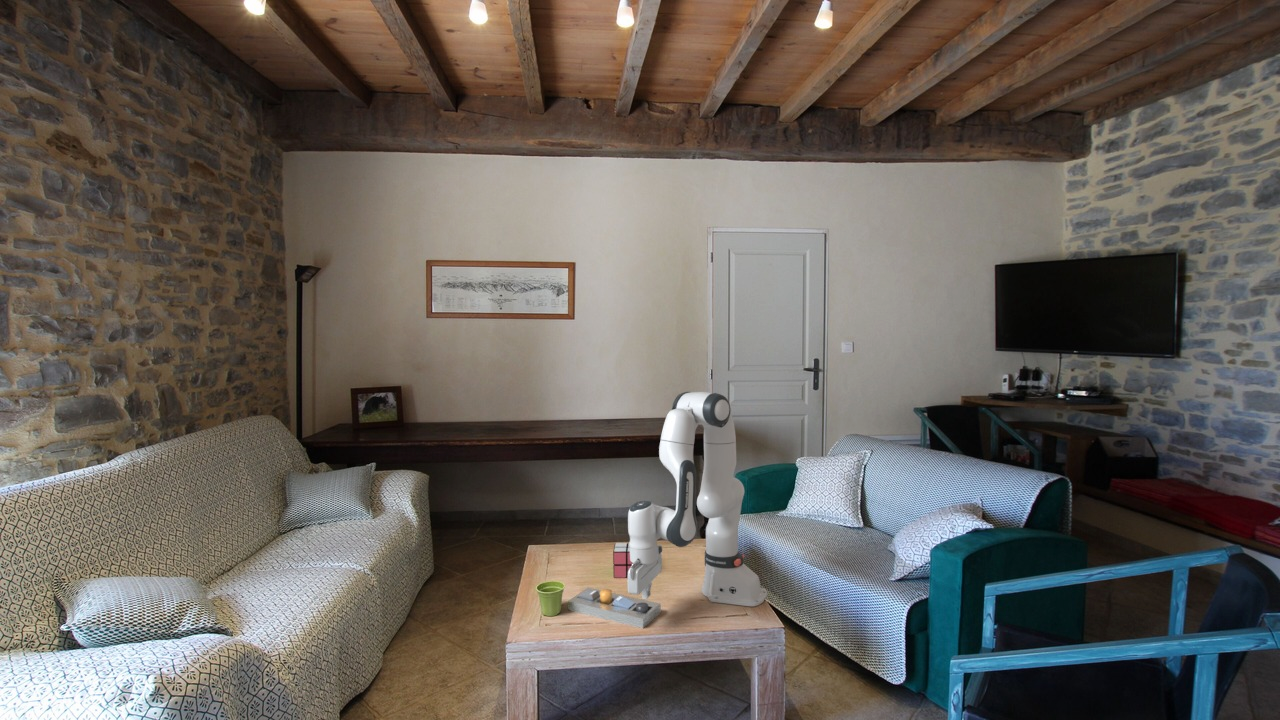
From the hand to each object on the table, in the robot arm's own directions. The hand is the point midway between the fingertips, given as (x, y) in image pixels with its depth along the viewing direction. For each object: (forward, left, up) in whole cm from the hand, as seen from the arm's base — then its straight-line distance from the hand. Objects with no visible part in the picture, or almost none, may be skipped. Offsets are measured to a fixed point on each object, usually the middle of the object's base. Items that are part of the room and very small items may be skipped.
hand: (646, 597), depth 196 cm
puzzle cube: (+24, -31, -8) cm, 40 cm away
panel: (+12, -1, -7) cm, 14 cm away
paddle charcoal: (+22, -1, -4) cm, 23 cm away
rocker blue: (+9, -1, -4) cm, 10 cm away
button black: (+2, -1, -7) cm, 7 cm away
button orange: (+15, -1, -5) cm, 16 cm away
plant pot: (+30, +9, -8) cm, 33 cm away
